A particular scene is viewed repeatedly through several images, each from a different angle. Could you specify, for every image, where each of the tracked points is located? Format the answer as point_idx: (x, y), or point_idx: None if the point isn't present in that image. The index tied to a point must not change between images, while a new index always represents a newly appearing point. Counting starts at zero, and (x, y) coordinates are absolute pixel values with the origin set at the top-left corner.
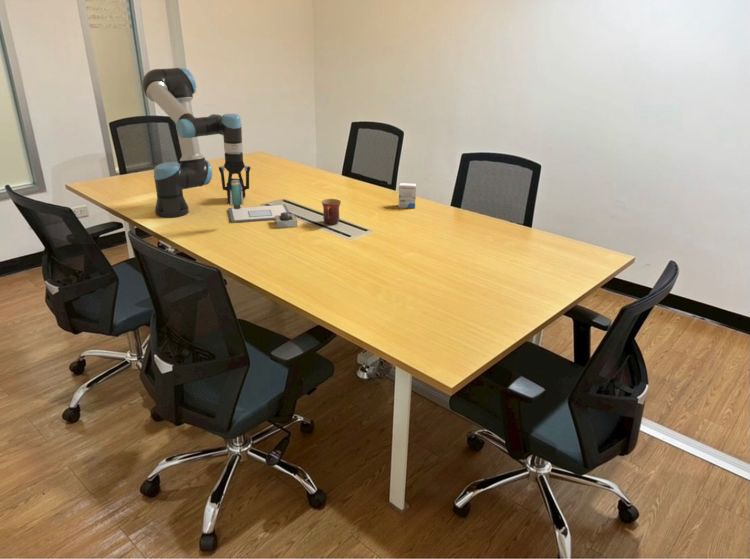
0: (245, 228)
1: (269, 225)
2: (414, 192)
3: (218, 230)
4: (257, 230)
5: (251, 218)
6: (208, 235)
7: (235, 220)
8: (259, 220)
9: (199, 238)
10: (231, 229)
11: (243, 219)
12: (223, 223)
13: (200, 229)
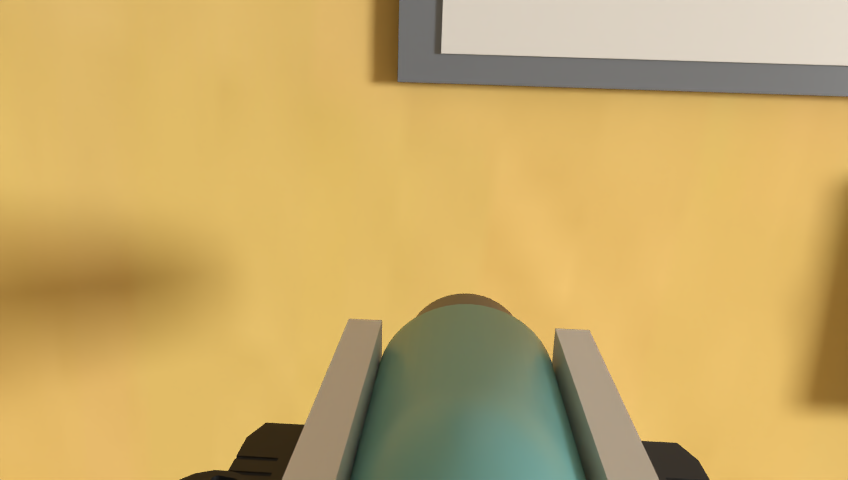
0: (535, 311)
1: (831, 286)
2: None
3: (240, 295)
4: (651, 406)
5: (674, 44)
6: (140, 410)
7: (454, 57)
8: (763, 92)
9: (60, 464)
10: (379, 301)
11: (561, 58)
12: (304, 68)
13: (49, 212)
